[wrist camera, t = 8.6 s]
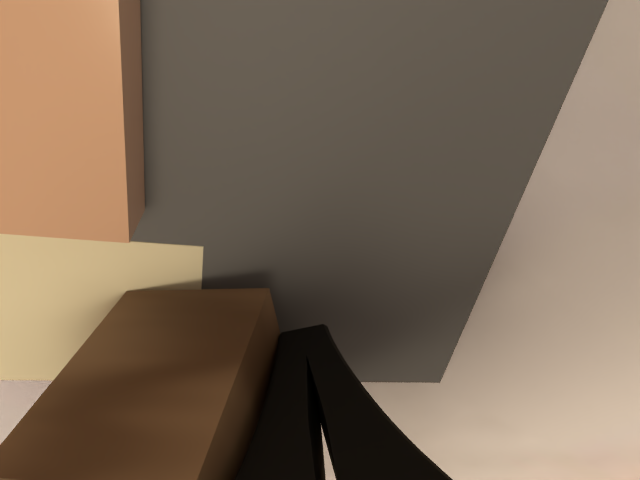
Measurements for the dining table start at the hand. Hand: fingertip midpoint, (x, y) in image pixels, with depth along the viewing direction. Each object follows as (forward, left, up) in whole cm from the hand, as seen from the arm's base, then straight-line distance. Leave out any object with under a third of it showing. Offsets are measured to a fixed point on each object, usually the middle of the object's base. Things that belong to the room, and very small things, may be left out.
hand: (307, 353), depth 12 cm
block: (+2, 0, -1) cm, 3 cm away
